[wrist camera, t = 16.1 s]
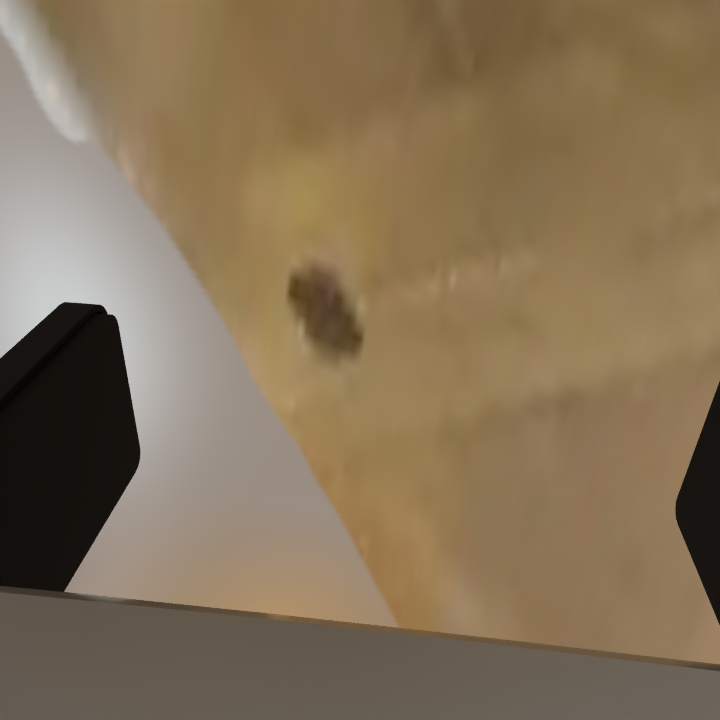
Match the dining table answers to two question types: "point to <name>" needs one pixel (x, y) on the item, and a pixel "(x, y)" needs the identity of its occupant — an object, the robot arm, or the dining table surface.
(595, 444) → the dining table surface
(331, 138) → the dining table surface
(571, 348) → the dining table surface
